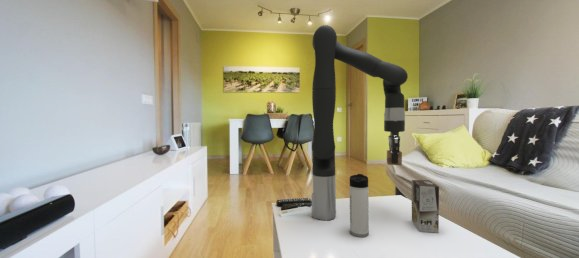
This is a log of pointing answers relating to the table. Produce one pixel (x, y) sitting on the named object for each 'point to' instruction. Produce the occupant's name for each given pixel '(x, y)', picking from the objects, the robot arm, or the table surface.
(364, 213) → the travel mug
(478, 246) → the table surface
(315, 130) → the robot arm
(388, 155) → the walnut block
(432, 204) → the coffee box
